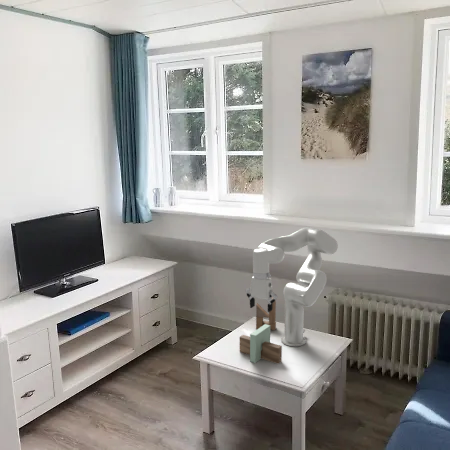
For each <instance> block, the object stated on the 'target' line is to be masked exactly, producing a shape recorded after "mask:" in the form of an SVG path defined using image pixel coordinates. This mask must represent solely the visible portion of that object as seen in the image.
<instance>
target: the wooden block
mask: <svg viewBox="0 0 450 450" xmlns="http://www.w3.org/2000/svg"><path fill="white" fill-rule="evenodd" d="M271 298H272V299H273V296H272V297H271ZM276 305H277V300H276V301H275V302H274V303H273V309H272V311H270V312H268V311H266V309H264V308H263V307H262V306H261V305H260V304H259V303H258V302H256V304H255V306H256V307H255V311H256V312H255V313H256V314H255V320H256V321H255V330H257V329H259V328H260V327H262V326H263V325H264V324H267V325H270V331H276V329H277V322H276V316H277V313H276V311H277V306H276ZM265 318H268V320H267V321H265V320H264V319H265Z"/></svg>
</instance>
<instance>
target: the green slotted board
mask: <svg viewBox="0 0 450 450" xmlns="http://www.w3.org/2000/svg"><path fill="white" fill-rule="evenodd" d="M249 334H250V335H249V337H250V355H249V362H251V363H254V364H255V363H256V364H257V362H259V361H260V360H262V359H261V350H262V343H264V342H265V341H266V342H270V343H271V330H270V325H267V324H264V325H263V326H262V327H260V328H259V329H255V330H254V331H252V332H251V333H249Z"/></svg>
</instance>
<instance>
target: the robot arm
mask: <svg viewBox="0 0 450 450" xmlns="http://www.w3.org/2000/svg"><path fill="white" fill-rule="evenodd" d="M305 247H306V248H307V257H306V259H305V261H304V262H303V264H302V266H301V267H300V268H299V270H298V272H297V273H296V276H295V277H296V279H295V280H296V281H297V282H288V283H286V285H285V286H284V287H283V299H284V335H283V336H281V339H280V340H281V343H282V344H284V345H286V346H289V347H301V346H303V345H305V344H306V342H307V341H306V338H305V336H304V333H305V332H306V330H305V329H304V316H305V315H304V311H305V309H304V307H307V308H308V307H311V306H313V305H314V304H315V303H316V301H317V300H318V298H319V296H320V295H321V293H322V292H323V290H324V289H325V286H326V285H327V279H328V278H327V277H328V276H327V273H325V272H324V271H322V270H320V269H321V267H322V265H323V258H322V255H321V254H326V255H334V254H335V253H336V252H337V250H338V248H339V244H338V241H337V240H336V239H335V238H334V237H332V236H331V235H330V234H328V233H327V232H326V231H325V230H323V229H319V228H315V227H310V226H308V227H307V226H306V227H302V228H300V229H298V230H297V231H295V232H293V233H291V234H289V235H285V236H284V235H283V236H279V237H274V238H270V239H268V240H266V241H264V242H262V243H261V244H260V245H258V247H257V248H256V249H254V250H253V252H252V270H253V271H252V277H251V281H250V287H248V288H246V289H244V291H245V294H246V297H248V300H249V305H250V306H249V307H250V309H252V308H254V307H255V306H256V304H255V303H256V302H255V301H256V299H260V300H266V301H267V303H268V304H267V313H269V312H270V311H272V309H273V303H274V302H275V301H276V302H277V299H278V295H277V294H276V293H275V292H273V283H272V274H270V264H271V265H272V264H279V263H281V262H283V260H284V259H285V256H286V255H285V253H291V252H292V253H293V252H297V251H298V250H301V249H302V248H305ZM271 297H273V299H272V298H271Z"/></svg>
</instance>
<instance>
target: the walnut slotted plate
mask: <svg viewBox="0 0 450 450" xmlns="http://www.w3.org/2000/svg"><path fill="white" fill-rule="evenodd" d="M282 348H283V346H282V345H280V344H278V343H277V344H276V343H274V342H273V343H272V342H271V341H270V342H266V341H265V342H264V343H262V350H261V359H260V360H265V361H268V362H271V363H274V364H277V365H279V364H280V363H282V358H283V357H282V355H283V352H282V351H283V350H282ZM239 353H243V354H245V355H249V356H250V335H249V336H248V335H245V334H241V335H240V336H239Z"/></svg>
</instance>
